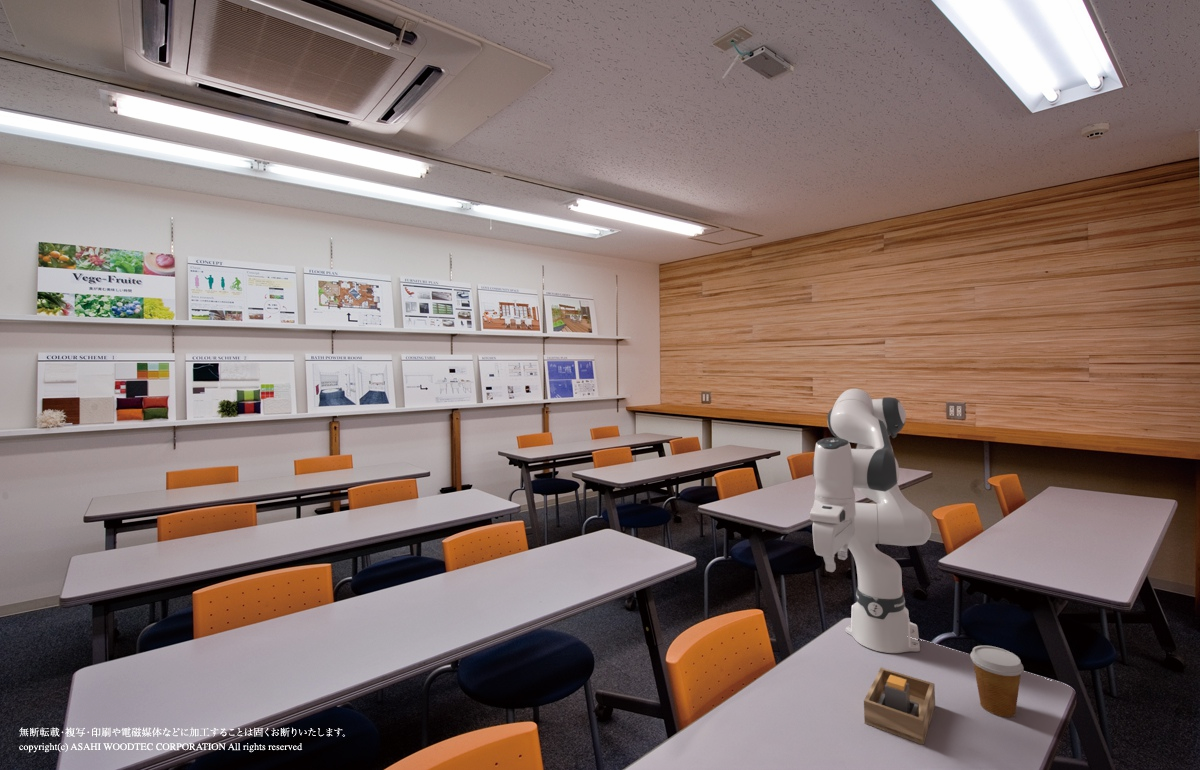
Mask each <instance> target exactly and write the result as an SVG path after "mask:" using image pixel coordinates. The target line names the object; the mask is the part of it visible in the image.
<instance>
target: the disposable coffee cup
mask: <svg viewBox="0 0 1200 770" xmlns="http://www.w3.org/2000/svg"><path fill="white" fill-rule="evenodd" d="M969 657H970V660H971V661H972V663H973V668H974V669H973V670H974V673H975V681H976V686H977V692H978V698H979V702H980V703H979V704H980V706H981V708H983V709H984V710H986V711H987V712H988V713H990V714H993V715H995V716H998V717H1002V718H1003V717H1004V718H1012V717H1014V716H1016V714H1017V713H1016V711H1017V706H1018V705H1017V704H1018V697H1019V689H1020V682H1021V675H1022V673H1023V671H1024V665H1023V664H1022V662H1021V659H1020V657H1019V656H1018V655H1016V654H1015V653H1013V652H1012V651H1011V652H1010V650H1006V649H1004V648H1000V647H998V646H997V647H996V646H992V645H977V646H974V647H973V648H972V651H971V652H970V656H969Z"/></svg>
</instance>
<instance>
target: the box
mask: <svg viewBox="0 0 1200 770" xmlns="http://www.w3.org/2000/svg"><path fill="white" fill-rule="evenodd" d="M890 675H893V676H896V677H900V678H903V679H906V680H907V683H908V684H909V695H910V714H907V713H905V712H902V711H899V710H896V709H893V708H890V707H887V706H885V684H886V682H887V680H888V678H889V676H890ZM935 692H936V689H935V683H934V682H930V681H926V680H924V679H920V678H918V677H914V676H910V675H907V674H904V673H900V672H897V671H894V670H890V669H887V668H884V667H880V669H879V670H878V673H877V674H876V676H875V678H874V680H873V682H872V684H871V686H870V688H869V690H868V692H867V694H866V695H865V698H864V699H863V709H864V710H863V713H864V714H863V715H864V717H863V718H864V724H865V725H868V726H871V727H873V728H876V729H880V730H882V731H884V732H887V733H889V734H892V735H895V736H898V737H900V738H903V739H905V740H909V741H912V742H914V743H916V744H919V745H923V746H924V743H925V742H926V741H925V740H926V736H927V734H928V730H929V728H930V723H931V720H932V717H933V714H934V710H935V707H936V696H935V695H936V693H935Z"/></svg>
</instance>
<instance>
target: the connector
mask: <svg viewBox="0 0 1200 770" xmlns="http://www.w3.org/2000/svg"><path fill="white" fill-rule="evenodd" d="M885 706H887V707H890V708H893V709H896V710H899V711H902V712H905V713H907V714H910V695H909V684H908V683H907V680H906V679H903V678H900V677H896V676H893V675H890V676H889V678H888V680H887V682H886V684H885Z"/></svg>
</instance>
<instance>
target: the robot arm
mask: <svg viewBox="0 0 1200 770" xmlns="http://www.w3.org/2000/svg"><path fill="white" fill-rule="evenodd" d="M826 416H827V419H826V420H827V423H826V424H827V427H828V429H829V431H830V433H831V434H832V435H833V436H834V437H825V438H822V439H819V440H817V442H816V443H815V447H814V457H813V459H812V477H813V478H814V481H815V489H814V493H813V494H814V500H813V504H812V507H811V509H810V512H809V520H810V521H813V522H812V530H811V531H812V540H813V541H812V542H813V549H814V552H815V555H816V556H820V557H823V561H824V563H825V570H826V572H829V573H833V572H835V570H836V568H837V567H836V564H837V563H836V562H835V555H836V554H837V559H839V560H843V561H845V560H847V558H848V550H849V551H850V553H851V554H852V556H853V559H854V562H855V566H856V574H857V587H856V592H855V596H856V602H855V603H853V604H852V605H851V611H850V612H851V615H850V616H851V618H850V620H851V621H850V624H849V625H847V626H846V627H845V632H846V633H847V634H849V636H851V637H853V639H854V640H855V641H856V642H857V643H859V644H860V645H861V646H863V647H865V648H867V649H870V650H873V651H877V652H881V653H886V654H887V653H888V654H901V653H907V652H920V651H921V647H920V646H921V645H920V637H919V627H918V625H917V624H916V623H913V622H911V621H910V620H911V619H910V617H909V616H910V615H909V612H910V611H909V609H908V608H907V607H906V600H905V599H906V598H905V595H904V588H903V585H902V584H903V583H902V577H903V576H902V567H901V566H900V564H899V563H898V562H897V560H895V559H894V558H892V557H891V556H889V555H887V554H886V553H883V552H882V551H880V550H879V549H878V548H877V547H876V545H877V544H881V545H890V546H899V547H900V546H901V547H910V546H911V547H912V546H921V545H922V546H923V545H924V544H926V543H927V542H928V541H929V539H930V537H931V534H932V523H931V520H930V518H929V517H928V515H927V514H926V512H925V511H923V509H920V508H919V507H917V506H916V505H914V504H913V503H911V502H910V501H909V500H908V499H907V498H906V497H905V496H904V494H903V493H902V491H901V489H900V487H899V483H898V481H899V478H900V468H899V467H900V466H899V463H898V460H897V459H896V456H895V453H894V450H893V446H892V443H891V439H890V436H891V438H892V439H896V437H897V435H898V433H900V431H902V429H903V428H904V426H905V425H906V416H907V414H906V409H905V407H904V406H903V404H902V403H901V401H900V400H899V399H898V398H896V397H888V396H887V397H883V398H874V399H873V398H872V397H871V395H870V394H869V393H868V392H866V391H865V390H863V389H861V388H849V389H847V390H844V391H843V392H842V393H841V394H840V395H839V396H838V398H837V399H836V401H835V403H834V405H833V408H830V410H829V411H828V413H827V415H826ZM850 443H854V444H856V447H855V448H852V447H851V444H850ZM854 489H856V490H857V491H858V492H859V493H860V494H861V495H862V496H864V497H865V498H867V499H869V500H870V501H873V502H875V503H870V502H869V503H868V502H856V493H855V490H854ZM907 636H908V637H907ZM910 637H912V638H916V639H919V641H918V640H915V639H912V638H910Z"/></svg>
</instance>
